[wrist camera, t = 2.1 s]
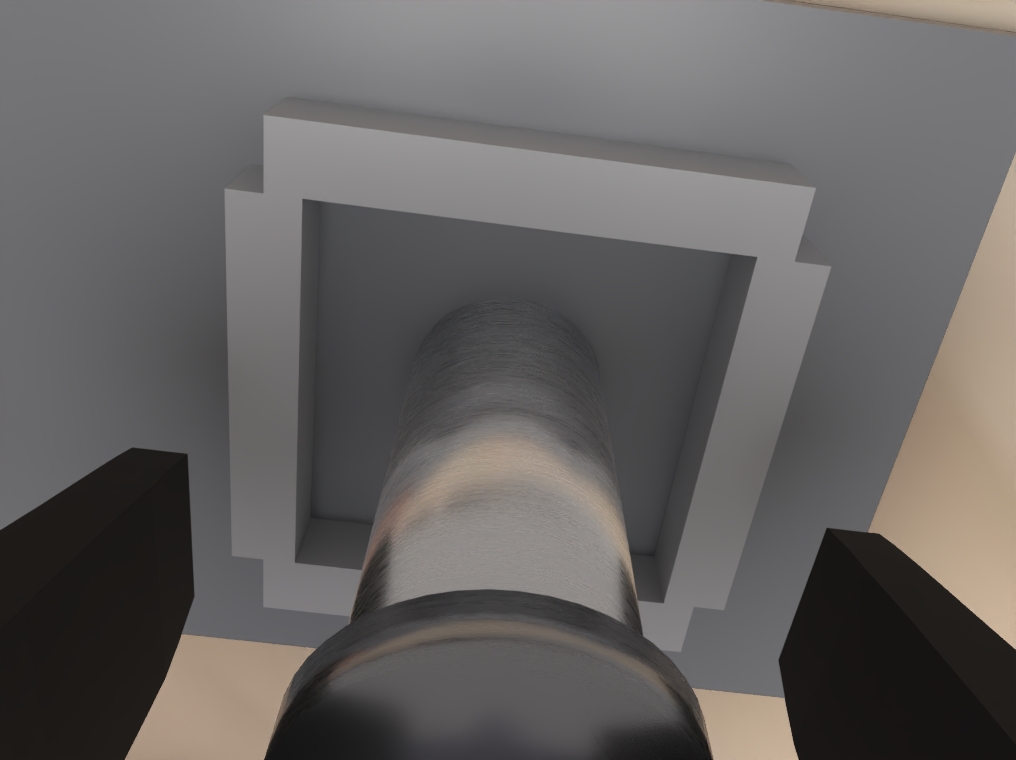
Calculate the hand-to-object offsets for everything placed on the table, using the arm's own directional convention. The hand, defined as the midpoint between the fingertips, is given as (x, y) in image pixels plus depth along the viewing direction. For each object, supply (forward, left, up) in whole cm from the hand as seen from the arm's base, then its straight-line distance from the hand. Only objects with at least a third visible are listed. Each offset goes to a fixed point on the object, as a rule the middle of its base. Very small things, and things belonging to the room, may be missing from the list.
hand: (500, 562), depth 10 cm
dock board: (0, +7, -5) cm, 8 cm away
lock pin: (0, 0, -4) cm, 4 cm away
